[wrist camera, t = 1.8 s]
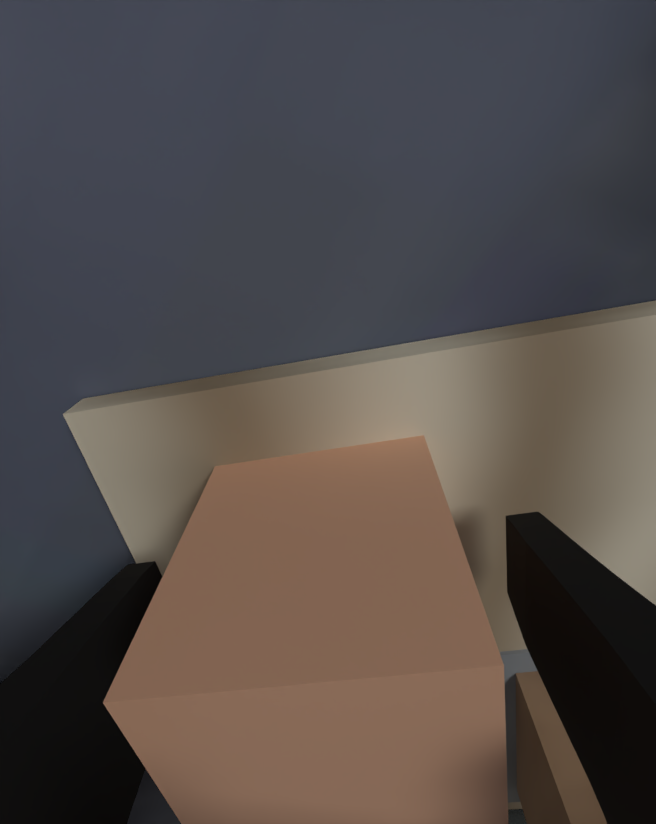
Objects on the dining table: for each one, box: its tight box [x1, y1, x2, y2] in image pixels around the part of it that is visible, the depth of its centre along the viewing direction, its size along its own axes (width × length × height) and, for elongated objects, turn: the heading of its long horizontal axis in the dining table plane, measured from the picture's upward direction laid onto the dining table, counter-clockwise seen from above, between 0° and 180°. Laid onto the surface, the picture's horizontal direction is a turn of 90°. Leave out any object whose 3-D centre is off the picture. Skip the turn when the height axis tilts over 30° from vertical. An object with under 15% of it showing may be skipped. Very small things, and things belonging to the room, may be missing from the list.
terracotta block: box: [103, 435, 508, 824], centre depth 8 cm, size 4×4×5 cm
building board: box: [63, 301, 656, 809], centre depth 12 cm, size 17×17×1 cm
